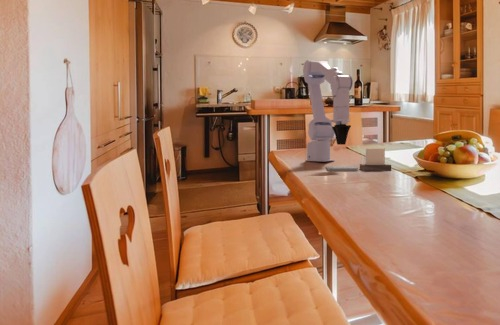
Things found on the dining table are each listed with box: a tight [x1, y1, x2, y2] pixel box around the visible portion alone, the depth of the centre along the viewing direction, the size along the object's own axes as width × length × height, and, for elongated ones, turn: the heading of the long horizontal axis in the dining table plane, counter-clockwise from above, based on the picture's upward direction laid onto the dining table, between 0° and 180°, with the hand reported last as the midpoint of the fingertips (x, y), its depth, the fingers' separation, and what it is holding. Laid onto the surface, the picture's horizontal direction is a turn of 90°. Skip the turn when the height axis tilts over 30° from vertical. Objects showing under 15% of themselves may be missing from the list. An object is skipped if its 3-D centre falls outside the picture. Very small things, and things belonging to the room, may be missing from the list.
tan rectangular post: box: [365, 147, 386, 165], centre depth 122 cm, size 3×6×8 cm, turn 88°
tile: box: [325, 165, 359, 172], centre depth 123 cm, size 10×10×1 cm
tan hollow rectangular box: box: [359, 163, 392, 172], centre depth 122 cm, size 7×10×2 cm
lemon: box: [416, 147, 426, 168], centre depth 118 cm, size 6×6×8 cm
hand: (341, 144), depth 123 cm, fingers open, 4 cm apart
